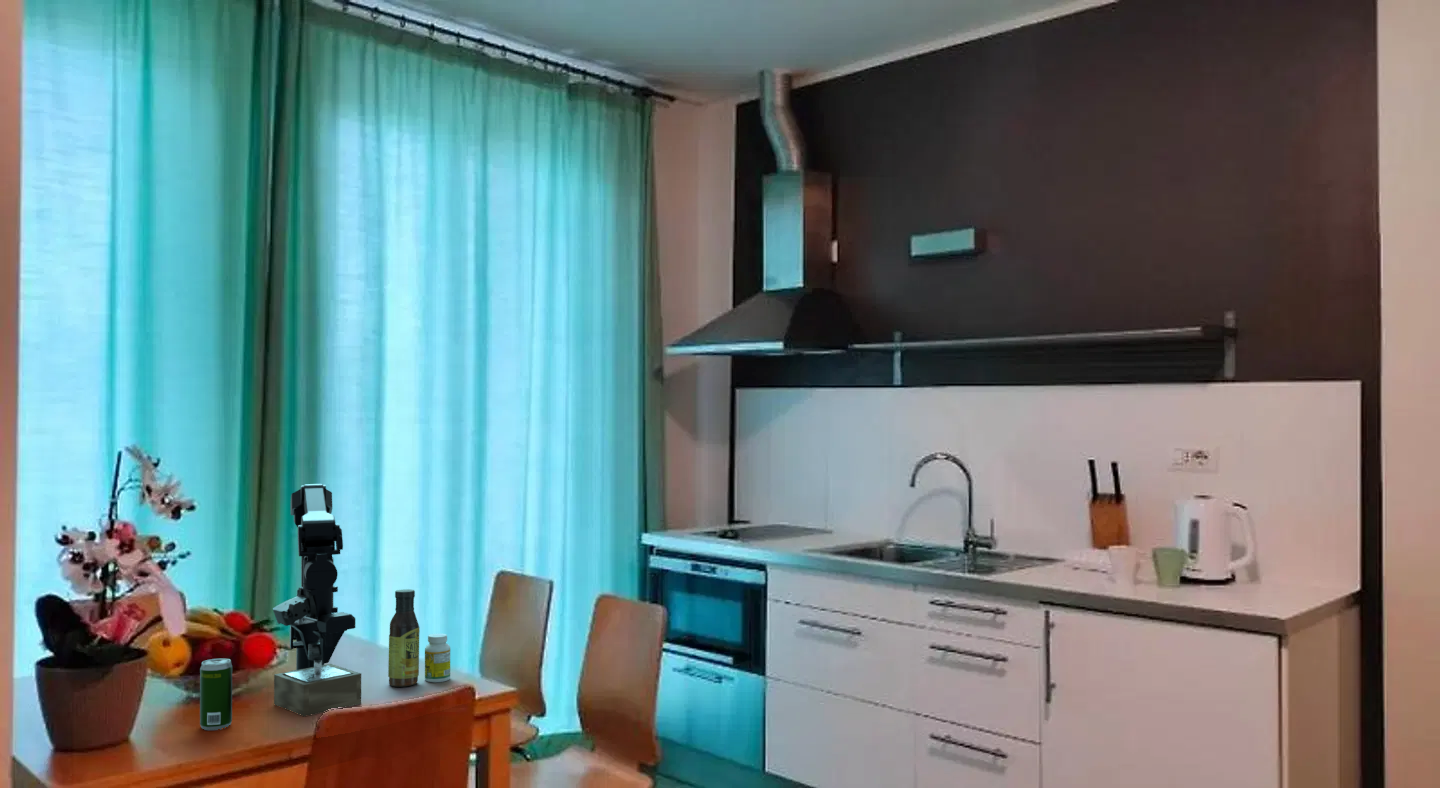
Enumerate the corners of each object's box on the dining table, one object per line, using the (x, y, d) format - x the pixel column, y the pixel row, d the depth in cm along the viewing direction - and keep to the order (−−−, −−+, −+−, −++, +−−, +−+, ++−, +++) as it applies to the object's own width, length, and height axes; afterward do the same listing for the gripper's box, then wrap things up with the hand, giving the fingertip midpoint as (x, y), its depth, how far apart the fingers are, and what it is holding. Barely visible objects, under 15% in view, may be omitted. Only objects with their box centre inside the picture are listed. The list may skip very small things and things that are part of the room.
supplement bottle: (452, 681, 236) (452, 636, 236) (426, 683, 234) (426, 638, 234) (448, 675, 241) (448, 631, 241) (423, 677, 239) (423, 633, 239)
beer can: (232, 728, 202) (232, 663, 202) (200, 732, 200) (200, 666, 200) (231, 720, 207) (231, 657, 207) (199, 724, 205) (200, 659, 205)
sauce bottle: (410, 688, 230) (410, 593, 230) (382, 687, 231) (382, 592, 231) (424, 681, 236) (424, 588, 236) (397, 679, 238) (398, 587, 238)
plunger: (284, 677, 218) (284, 643, 218) (327, 669, 225) (327, 636, 225) (307, 686, 212) (307, 650, 212) (351, 677, 219) (351, 642, 219)
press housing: (274, 704, 218) (274, 674, 218) (330, 692, 227) (330, 663, 227) (303, 716, 210) (304, 685, 210) (361, 703, 219) (361, 673, 219)
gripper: (256, 581, 219) (256, 660, 218) (302, 593, 206) (302, 676, 206) (309, 575, 227) (309, 650, 227) (357, 585, 214) (356, 665, 214)
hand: (317, 660), depth 218 cm, fingers open, 6 cm apart
